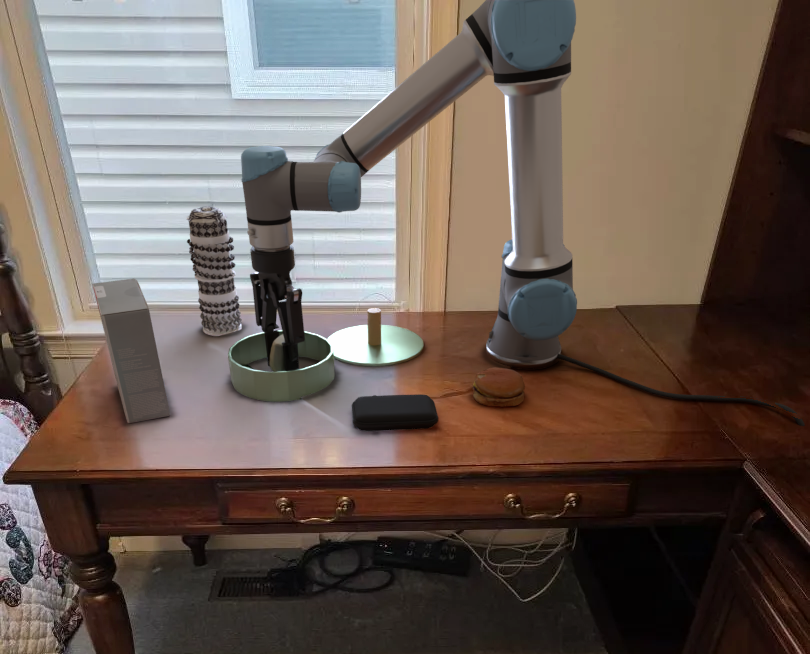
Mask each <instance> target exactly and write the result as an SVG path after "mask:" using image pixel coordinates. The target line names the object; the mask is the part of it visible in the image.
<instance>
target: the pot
mask: <svg viewBox="0 0 810 654" xmlns="http://www.w3.org/2000/svg"><path fill="white" fill-rule="evenodd" d="M277 330H278V329H277ZM278 331H279V336H280V335H282V334H283V331H282V329H279V330H278ZM304 335H305V341H303V342H300V343H298V355H299V357H301V358H308V359H312V360H315V361H319V362H318V363H316V364H313V365H310V366H306V367H304V368H299V369H297V370H291V371H275V372H273V371H268V370H260V369H255V368H254V367H252V366H250V365H249V364H251V363H253V362H256V361H260V360H263V359H267V351H266V343H265V334H264V332H263V331H262V332H257V333H254V334H250V335H247V336H245V337H243V338H241V339H239V340H237V341H235V342H234V343H233V344H232V345H231V346H230V347H229V348H228V352H227V361H228V367H229V375H230V382H231V384H232V386H233V388H234V390H235V391H236V392H237V393H239V394H240V395H242V396H245V397H247V398H249V399H253V400H256V401H263V402H274V403H275V402H276V403H279V402H280V403H281V402H282V403H283V402H292V401H293V402H294V401H300V400H303V398H302V397H307V396H310V395H312V394H315V393H318V392H321V391H322V390H324V389H326V388H328V386H330V385H331V384H332V382H333V381H334V379H335V377H336V376H335V375H336V374H335V373H336V372H335V358H334V350H333V345H332V344H331V342H330V341H329V340H328V338H326V337H324V336H322V335H320V334H317V333H313V332H309V331H305V330H304Z"/></svg>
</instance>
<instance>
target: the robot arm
mask: <svg viewBox="0 0 810 654" xmlns="http://www.w3.org/2000/svg"><path fill="white" fill-rule="evenodd" d="M462 22H463V23H462V28H461V32H459V34H457V35H456V36H455V37H454V38H452V39H451V40H450V41H449V42H448V43H447V44H445V45H444V46H443V47H441V49H439V51H437V52H436V53H435V54H433V56H431V57H430V58H429V59H428V60H427V61H425V62H424V63H423V64H422V65H421V66H419V67H418V69H416V70H415V71H414V72H412V73H411V74H410V75H409V76H408V77H407V78H405V79H404V80H403V81H402V82H401V83H400V84H398V85H397V86H396V87H395V88H394V89H392V90H391V91H390V92H389V93H388V94H387V95H386V96H384V97H383V98H382V99H381V100H379V101H378V102H377V103H376V104H374V106H372V108H371V109H369V110H368V111H367V112H366V113H364V114H363V115H362V116H361V117H360V118H359V119H357V120H356V121H355V122H354V123H353V124H351V125H350V126H349V127H348V128H347V129H345V130H344V132H342V134H341V135H339V136H338V137H336V139H334V140H333V141H332V142H331V143H329V144H326V145H325V146H324V147H322V148H321V149H320V150H319V151H318V152H317V153H316V155H315V157H314V159H313V161H293V160H289V158H288V157H287V152H286V150H285V149H284V148H283V147H281V146H272V145H256V146H251V147H247V148H245V149H244V150H243V151H242V152H241V155H240V165H241V179H240V181H241V183H242V190H243V197H244V198H243V199H244V206H245V213H246V214H245V215H246V221H247V232H246V233H247V236H248V240H249V245H251V248H250V249H249V253H250V260H251V261H250V262H251V268H252V270H254V271H255V272H252V273H250V274H249V278H250V282H251V286H252V294H253V305H254V316H255V324H256V326H257V327H260V328H261V331H262V332H264V334H265V343H266V351H267V358H266V361H267V366H268V367H270V364H269V363H270V353H271V348H272V344H273V342H274V340H275V339H276V338H278V337H279V331H278V329H280V327H281V330H282V331H283V336H284V340H285V342H282V346H283V356H284V367H285V371H291V370H297V369H300V364H299V363H300V362H299V361H300V360H299V357H300V356H299V355H298V343H300V342H303V341H305V335H304V331H305V327H304V326H305V325H304V316H303V306H302V305H303V304H302V300H303V299H302V298H303V290H302V288H295V287H294V285H293V281H292V279H291V272H292V271H293V269H294V268H296V267H295V266H296V261H295V260H296V257H295V248H294V246H293V243H294V234H293V222H292V215H291V214H292V211H295V212H296V211H297V212H303V211H304V212H332V213H333V212H335V213H340V214H341V213H343V212H355V211H358V210H359V208H360V207H361V202H362V178H363V176H365V175H366V174H367V173H368V172H369V171H370V170H372V169H373V168H374V167H375V166H376V165H378V164H379V163H380V162H381V161H383V160H384V159H385V158H387V156H389V155H391V153H393V152H394V151H395V150H397V148H399V147H400V146H401V145H402V144H404V143H405V142H406V141H407V140H409V139H410V138H411V137H412V136H414V135H415V134H416V133H417V132H419V131H420V130H421V129H423V128H424V127H425V126H426V125H427V124H428V123H430V122H431V121H432V120H434V119H435V118H436V117H437V116H438V115H440V114H441V113H442V112H444V110H446V109H447V108H448V107H450V106H451V105H452V104H454V103H455V102H456V101H458V99H460V98H461V97H462V96H463V95H464V94H466V93H467V92H468V91H470V90H471V89H472V88H473V87H474V86H476V85H477V84H479V83H480V81H482V80H483V79H485V78H486V77H487V76H492V77H493V85H494V86H495V87H496V88H497V89H498V90H499V91H501V93H502V94H503V95H504V107H505V108H504V110H505V125H506V126H505V129H506V146H507V147H506V148H507V165H508V166H507V167H508V185H509V204H510V207H509V208H510V221H511V223H510V225H511V239H509V240H507V241H506V242H505V243H504V245H503V251H502V254H501V258H502V260H501V261H502V262H501V271H500V285H499V295H498V296H499V297H498V307H497V317H496V319H495V322H494V324H493V326H492V328H491V331H489V332H488V333H489V334H488V338H487V340H486V344H485V353H486V356H487V357H488V358H489V359H490V360H492V361H493V362H496V363H498V364H500V365H503V366H506V367H507V366H508V367H509V368H508V369H513V370H526V371H528V370H529V371H531V370H532V371H533V370H541V369H545V368H549V367H552V366H554V365H555V364H557V363H558V362H559V361H560V360H562V361H564V362H568V363H570V364H573V365H576V366H579V367H581V368H585V369H586V370H588V371H592V372H594V373H597V374H600V375H602V376H605V377H607V378H609V379H612V380H614V381H617V382H619V383H621V384H624V385H627V386H630V387H632V388H635V389H638V390H640V391H642V392H646V393H648V394H651V395H655V396H659V397H664V398H668V399H674V400H683V401H684V400H685V401H686V400H687V401H712V402H743V403H750V404H754V405H755V404H756V405H760V406H764V407H770V408H774V409H777V408H776V407H774V406H771V405H769V404H767V403H764V402H761V401H758V400H753V399H746V398H720V397H725V396H726V395H710V394H681V393H680V394H679V393H673V392H668V391H662V390H658V389H654V388H651V387H648V386H646V385H644V384H641V383H638V382H636V381H634V380H633V381H632V380H630V379H627V378H624V377H622V376H619V375H617V374H615V373H612V372H609V371H608V370H605V369H602V368H600V367H597V366H594V365H591V364H590V363H586V362H584V361H581V360H579V359H575V358H573V357H569V356H567V355H563V354H562V345H561V342H560V337H559V336H560V335H562V334H564V332H565V331H567V330H568V328H570V326H571V325H572V324H573V322H574V320H575V318H576V314H577V310H578V299H577V293H576V292H575V291H574V282H573V281H574V280H573V279H574V277H573V276H574V272H573V271H574V269H573V267H574V266H573V265H574V264H573V253H572V251H570V249H568V248H567V247H566V246H565V244H564V202H563V201H564V199H563V198H564V197H563V196H564V195H563V193H564V192H563V190H564V189H563V127H562V126H563V124H562V123H563V122H562V121H563V120H562V119H563V118H562V117H563V116H562V114H563V113H562V88H563V85H564V84H565V83H566V81H567V80H568V79H569V77H570V76H571V75H572V40H573V38H574V33H575V31H576V29H575V28H576V24H577V9H576V3H575V0H484V2H482V3H481V5H480V6H479V7H478V8H477V9H476V10H475V11H473V12H472V13H471V14H470V15H469V16H468V17H467V18H466V19H464V20H463V21H462ZM277 316H278V319H279V323H280V326H279V325H278V324H277ZM718 397H719V398H718ZM775 404H776V405H778V406H779V407H781V408H783V409H784V410H786V411H789V412H792V413H796V414H798V413H797V411H795V410H794V409H793V408H791V407H789V406H788V405H785V404H783V403H779V402H775ZM791 418H793V420H794V421H795V422H796V424H797V425H799V426H800V427H805V422H804V421H803V418H801V419H798V418H795V417H793V416H791Z"/></svg>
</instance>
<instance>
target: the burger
mask: <svg viewBox="0 0 810 654" xmlns="http://www.w3.org/2000/svg"><path fill="white" fill-rule="evenodd" d="M525 388H526V385H525V381H524V378H523V376H522V374H520V373H519V372H518V371H516V370H515V369H512V368H506V367H505V368H504V367H488V368H485V369H484V370H482V371H480V372H477V373H476V374H475V377H474V381H473V384H472V390H473V392H472V397H473V399H474V400H475V401H476V402H477V403H479V404H480V405H484V406H487V407H496V406H498V407H502V408H505V407H515V406H518V405H520V404H522V403H523V401H524V400H525Z"/></svg>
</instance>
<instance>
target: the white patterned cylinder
mask: <svg viewBox="0 0 810 654" xmlns="http://www.w3.org/2000/svg"><path fill="white" fill-rule="evenodd" d="M227 219H228V215H227V214H226V213H224V212H223V210H221V208H219V207H216V206H210V205H209V206H207V205H206V206H198V207H195V208H193V209H191V210H190V212H189V215H187V216H186V220H187V221H188V228H189V238H188V239H187V240H186V243H187V244H188V246H189V251H188V252H189V254H190V261H191V262H192V271H193V272H194V278H195V279H196V280H197V286H198V290H197V291H198V300H197V302H198V303H199V306H198V308H199V310H200V312H201V313H200V315H199V317H200V319H201V322H200V323H201V326H202V332H203V333H204V334H205V335H208V336H211V337H212V336H213V337H219V336H224V335H228V334H231V333H234V332H238V331H241V330H242V329H243V325H242V318H241V316H242V315H241V314H242V312H241V311H240V303H239V299H240V297H239V296H238V294H237V289H236V288H237V287H236V285H235V279H234V278H235V277H236V271H235V270H234V268H235V267H236V263H235V262H233V261H234V260H235V257H236V256H235V255H234V254H232V253H231V252H232V251H234V250H235V246H234V245H233V244H232V243H234V238H233V237H232V236H230V230H229V229H228V221H227Z"/></svg>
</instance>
